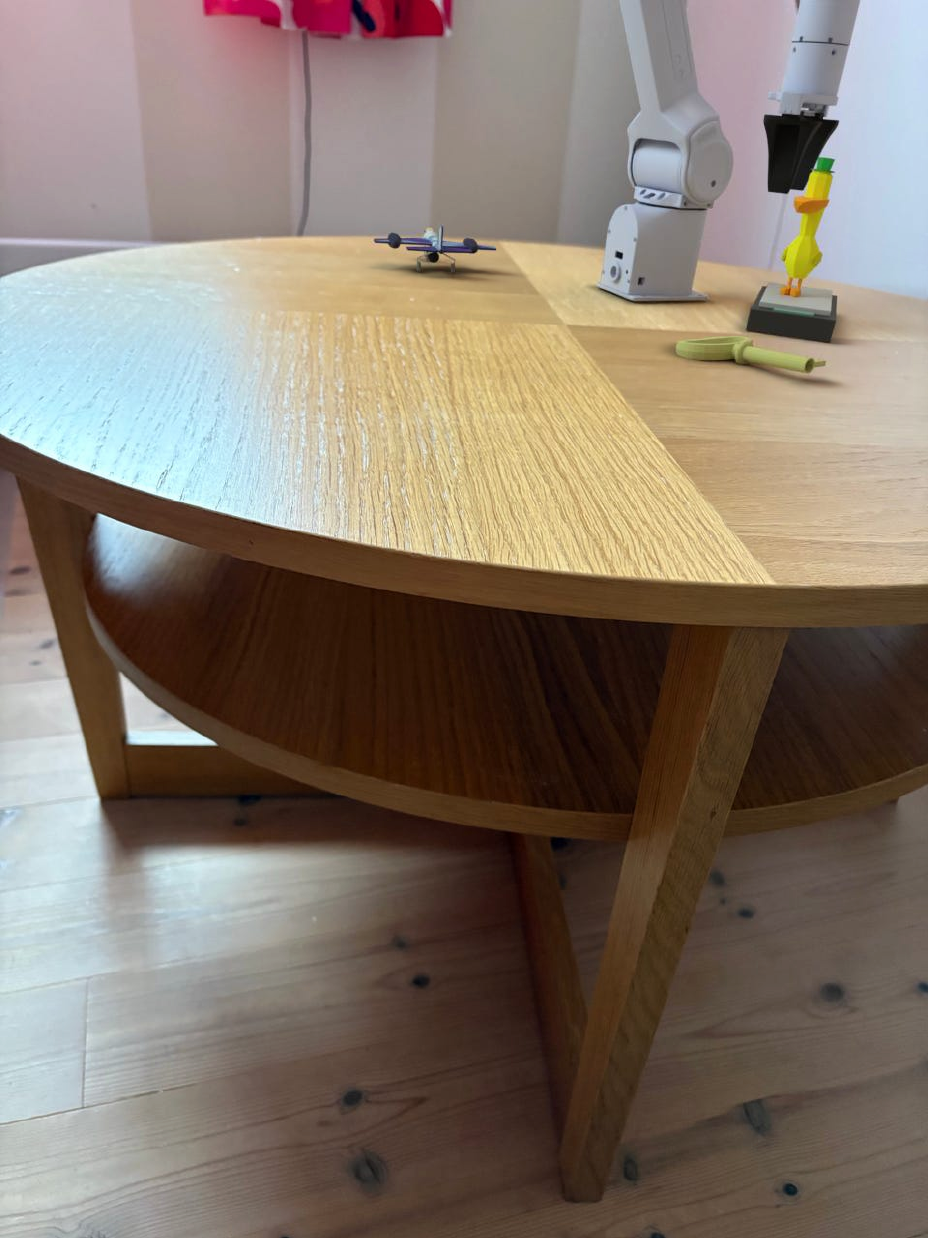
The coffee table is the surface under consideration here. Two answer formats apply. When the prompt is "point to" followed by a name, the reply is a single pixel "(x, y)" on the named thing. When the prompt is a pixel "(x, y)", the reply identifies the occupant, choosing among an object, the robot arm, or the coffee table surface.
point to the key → (744, 353)
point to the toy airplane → (434, 246)
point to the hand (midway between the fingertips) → (786, 191)
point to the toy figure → (808, 227)
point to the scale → (794, 313)
